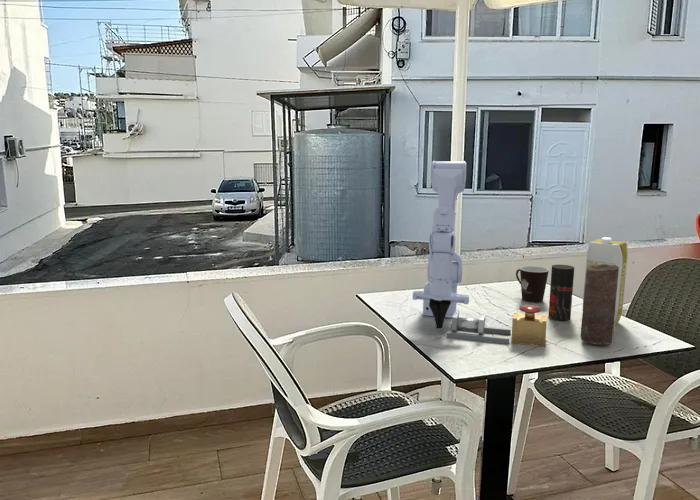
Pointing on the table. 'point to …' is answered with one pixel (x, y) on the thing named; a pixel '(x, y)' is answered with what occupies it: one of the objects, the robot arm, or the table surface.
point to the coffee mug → (533, 283)
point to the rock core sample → (599, 304)
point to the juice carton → (610, 255)
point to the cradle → (483, 337)
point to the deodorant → (561, 292)
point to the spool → (468, 324)
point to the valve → (529, 326)
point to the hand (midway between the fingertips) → (439, 327)
